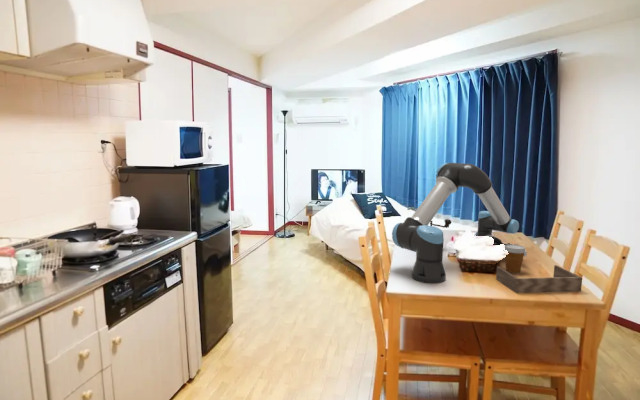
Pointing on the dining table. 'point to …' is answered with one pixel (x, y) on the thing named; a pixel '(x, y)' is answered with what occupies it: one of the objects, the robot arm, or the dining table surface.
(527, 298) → the dining table surface
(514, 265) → the disposable coffee cup
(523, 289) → the walnut crate
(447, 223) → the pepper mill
